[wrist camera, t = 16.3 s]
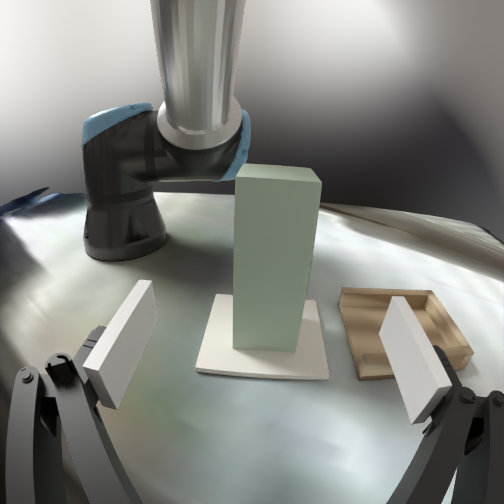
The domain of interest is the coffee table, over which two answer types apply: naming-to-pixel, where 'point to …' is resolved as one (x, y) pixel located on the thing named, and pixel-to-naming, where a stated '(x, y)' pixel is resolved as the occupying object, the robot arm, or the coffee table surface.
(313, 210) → the tall block
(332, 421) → the coffee table surface
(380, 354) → the shallow wooden tray
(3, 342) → the coffee table surface
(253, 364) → the pad
